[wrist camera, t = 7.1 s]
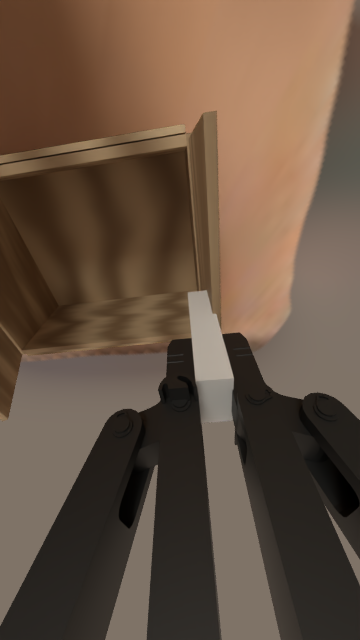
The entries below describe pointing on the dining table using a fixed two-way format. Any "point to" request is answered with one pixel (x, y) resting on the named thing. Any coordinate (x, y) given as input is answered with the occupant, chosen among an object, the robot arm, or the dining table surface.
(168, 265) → the carton
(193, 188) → the flap right
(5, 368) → the flap left
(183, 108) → the dining table surface
